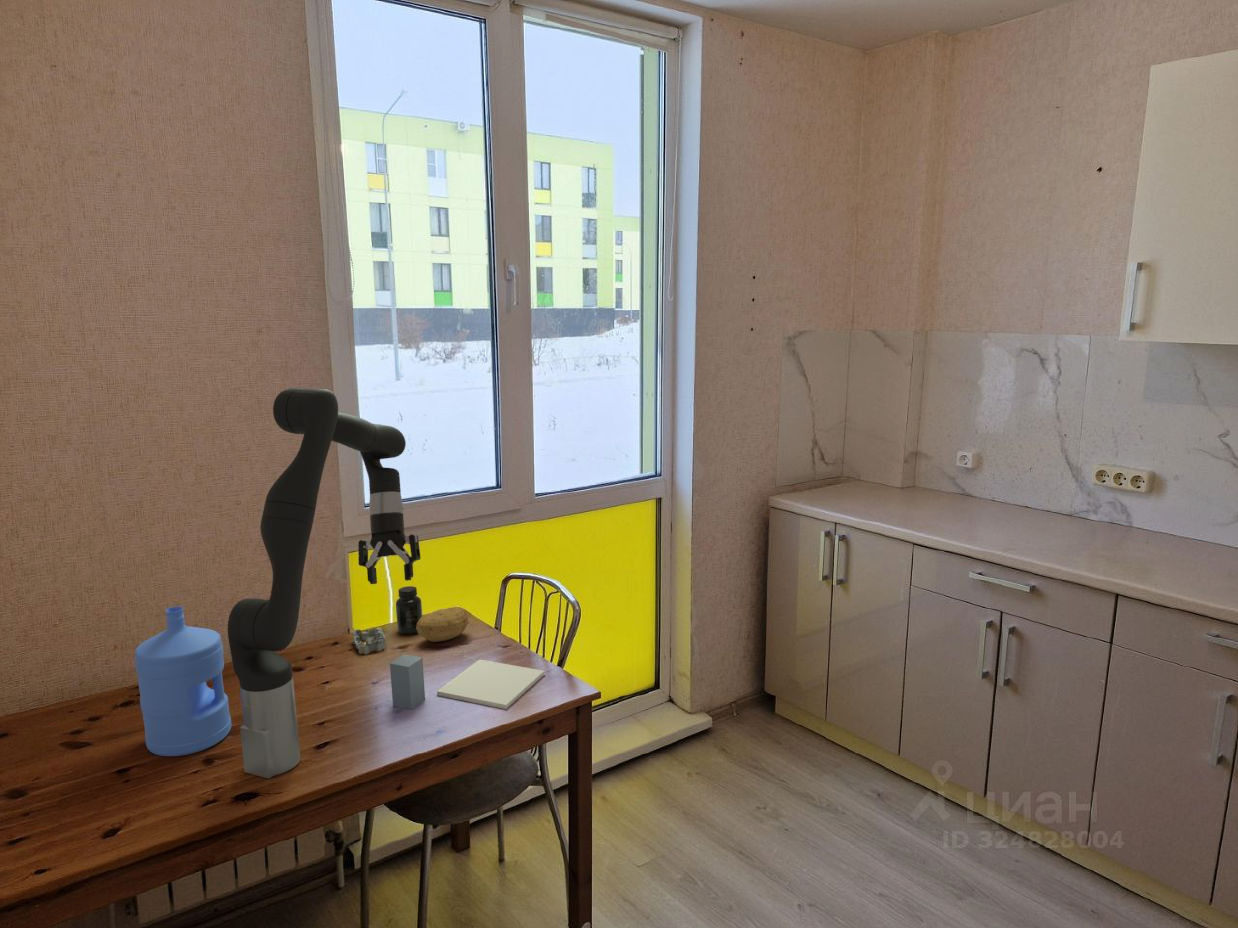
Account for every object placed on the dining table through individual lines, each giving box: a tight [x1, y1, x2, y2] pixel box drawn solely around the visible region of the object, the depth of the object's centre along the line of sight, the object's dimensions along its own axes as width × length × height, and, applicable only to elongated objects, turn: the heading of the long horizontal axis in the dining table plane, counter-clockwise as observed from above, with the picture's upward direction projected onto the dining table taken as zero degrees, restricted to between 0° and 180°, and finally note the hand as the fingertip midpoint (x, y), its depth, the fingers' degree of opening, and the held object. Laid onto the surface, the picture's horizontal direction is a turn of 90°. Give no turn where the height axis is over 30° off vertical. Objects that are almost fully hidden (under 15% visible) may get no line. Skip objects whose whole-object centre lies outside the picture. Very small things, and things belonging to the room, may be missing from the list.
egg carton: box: [351, 626, 387, 655], centre depth 210 cm, size 11×8×4 cm
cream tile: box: [436, 659, 545, 710], centre depth 187 cm, size 18×18×1 cm
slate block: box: [389, 654, 426, 710], centre depth 178 cm, size 5×5×10 cm
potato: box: [416, 606, 469, 643], centre depth 212 cm, size 10×14×8 cm
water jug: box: [134, 606, 232, 757], centre depth 163 cm, size 16×16×28 cm
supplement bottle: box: [395, 585, 423, 636], centre depth 218 cm, size 7×7×12 cm
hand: (390, 582), depth 186 cm, fingers open, 8 cm apart
